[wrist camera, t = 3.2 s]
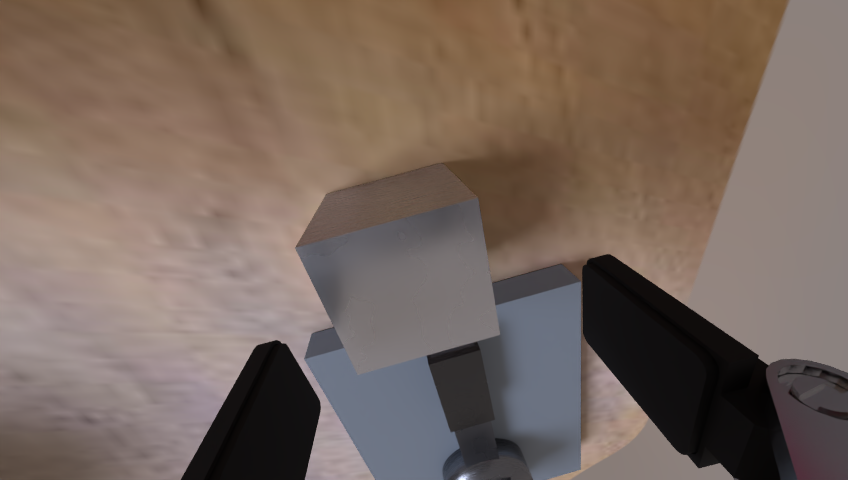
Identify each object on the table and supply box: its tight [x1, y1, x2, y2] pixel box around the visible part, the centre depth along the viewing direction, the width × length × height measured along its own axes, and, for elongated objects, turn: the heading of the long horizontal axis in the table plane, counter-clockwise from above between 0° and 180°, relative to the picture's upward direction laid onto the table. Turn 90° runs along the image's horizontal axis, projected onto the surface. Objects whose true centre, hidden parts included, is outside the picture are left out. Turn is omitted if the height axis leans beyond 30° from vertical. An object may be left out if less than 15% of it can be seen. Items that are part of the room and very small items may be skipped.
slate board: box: [305, 264, 581, 480], centre depth 22 cm, size 20×16×2 cm
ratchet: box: [427, 341, 533, 480], centre depth 18 cm, size 17×6×6 cm, turn 14°
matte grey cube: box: [295, 163, 500, 375], centre depth 13 cm, size 6×6×6 cm
